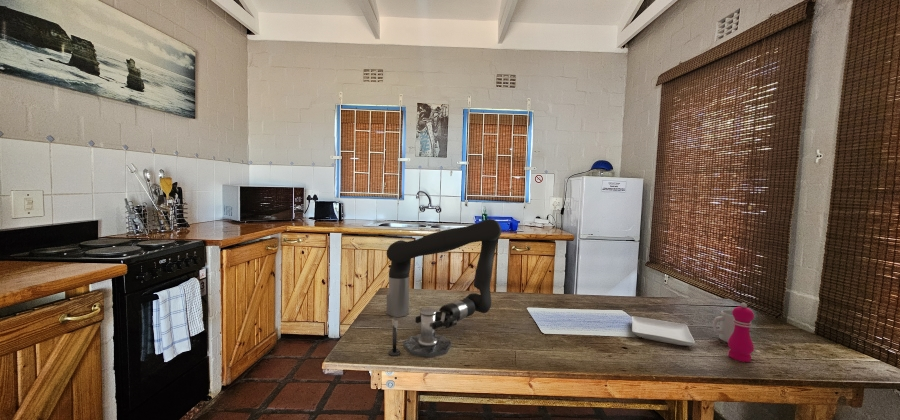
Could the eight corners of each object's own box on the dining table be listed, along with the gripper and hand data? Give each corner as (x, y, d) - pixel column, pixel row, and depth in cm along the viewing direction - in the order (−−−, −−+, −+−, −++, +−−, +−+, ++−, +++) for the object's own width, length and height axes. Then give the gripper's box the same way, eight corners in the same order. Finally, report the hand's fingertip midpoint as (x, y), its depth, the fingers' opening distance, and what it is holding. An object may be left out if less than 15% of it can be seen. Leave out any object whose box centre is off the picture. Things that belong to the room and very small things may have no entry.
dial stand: (390, 357, 124) (391, 322, 123) (386, 352, 128) (387, 318, 127) (412, 352, 128) (413, 318, 127) (408, 348, 132) (408, 314, 131)
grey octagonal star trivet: (398, 352, 128) (398, 348, 128) (415, 335, 143) (415, 331, 143) (441, 359, 123) (442, 355, 123) (454, 341, 139) (454, 337, 138)
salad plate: (686, 331, 155) (686, 323, 155) (695, 351, 136) (695, 342, 135) (630, 322, 164) (630, 314, 164) (631, 339, 145) (632, 331, 144)
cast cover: (415, 345, 131) (416, 312, 130) (422, 337, 137) (422, 306, 137) (433, 347, 129) (434, 315, 128) (439, 340, 135) (440, 309, 135)
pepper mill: (721, 353, 134) (725, 299, 132) (740, 353, 134) (744, 299, 133) (739, 362, 126) (743, 306, 125) (758, 362, 127) (762, 306, 126)
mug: (735, 336, 150) (737, 310, 149) (751, 345, 141) (753, 317, 141) (705, 335, 150) (707, 309, 150) (719, 344, 142) (721, 316, 141)
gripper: (440, 299, 148) (410, 308, 136) (468, 307, 138) (439, 318, 126) (440, 317, 148) (410, 328, 136) (467, 326, 139) (438, 339, 127)
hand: (424, 323), depth 131 cm, fingers open, 8 cm apart
